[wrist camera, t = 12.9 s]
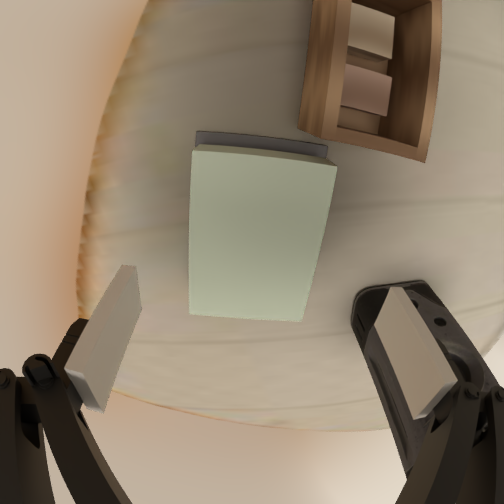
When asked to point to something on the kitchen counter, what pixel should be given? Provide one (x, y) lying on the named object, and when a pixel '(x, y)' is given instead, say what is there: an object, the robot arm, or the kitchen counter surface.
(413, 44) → the crate
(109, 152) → the kitchen counter surface
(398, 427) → the electronic device
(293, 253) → the block
